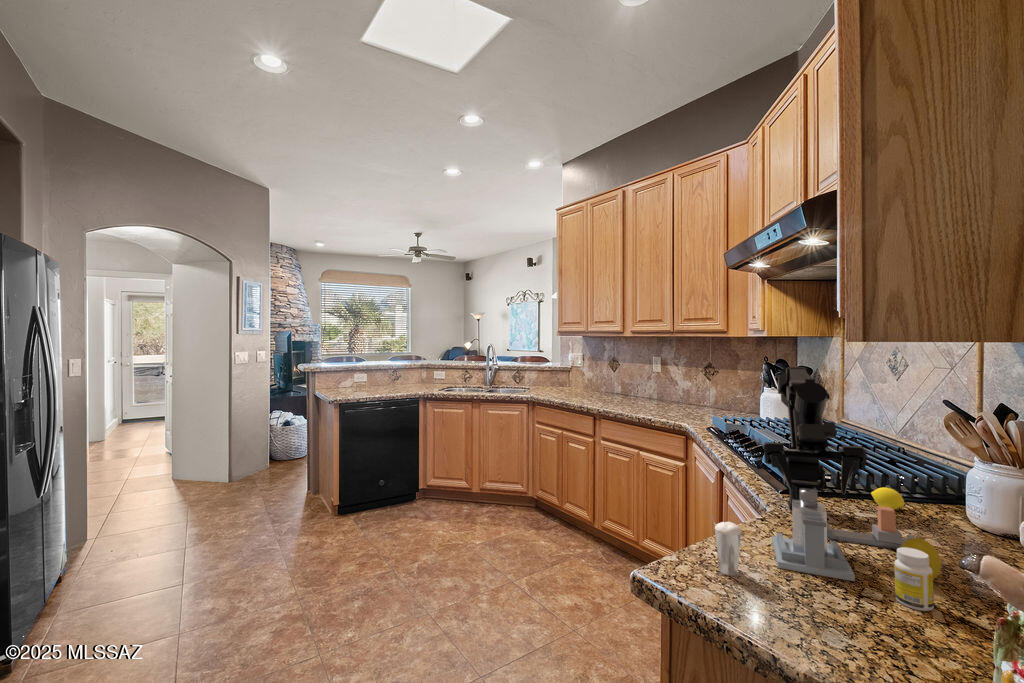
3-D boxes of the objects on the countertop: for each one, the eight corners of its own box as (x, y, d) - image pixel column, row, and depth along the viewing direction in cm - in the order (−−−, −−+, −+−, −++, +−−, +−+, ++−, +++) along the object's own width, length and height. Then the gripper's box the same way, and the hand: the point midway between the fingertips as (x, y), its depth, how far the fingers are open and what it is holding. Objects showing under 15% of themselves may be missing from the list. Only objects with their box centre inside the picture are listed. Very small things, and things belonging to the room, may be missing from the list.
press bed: (772, 541, 98) (771, 495, 98) (838, 551, 93) (838, 503, 93) (778, 568, 86) (777, 516, 86) (855, 582, 81) (854, 526, 81)
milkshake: (716, 562, 89) (715, 511, 89) (745, 571, 85) (744, 518, 85) (707, 570, 86) (706, 517, 86) (736, 580, 82) (735, 525, 82)
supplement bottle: (918, 596, 76) (917, 546, 77) (942, 612, 72) (940, 559, 72) (887, 595, 77) (886, 545, 77) (909, 611, 72) (908, 558, 72)
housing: (792, 545, 94) (791, 484, 94) (825, 551, 91) (823, 488, 91) (793, 555, 89) (792, 492, 89) (827, 562, 86) (826, 496, 86)
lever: (872, 533, 99) (871, 504, 99) (895, 536, 98) (894, 506, 98) (878, 540, 95) (877, 510, 95) (902, 544, 94) (901, 513, 94)
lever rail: (823, 532, 103) (823, 523, 103) (913, 544, 96) (913, 535, 96) (826, 538, 99) (826, 529, 99) (920, 552, 92) (920, 542, 92)
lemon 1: (906, 511, 117) (909, 491, 116) (898, 516, 114) (901, 495, 113) (874, 500, 122) (877, 481, 122) (865, 504, 120) (868, 484, 119)
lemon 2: (893, 578, 82) (892, 534, 83) (910, 572, 85) (909, 529, 85) (931, 593, 77) (930, 546, 77) (948, 586, 80) (947, 540, 80)
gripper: (761, 407, 104) (764, 469, 95) (862, 408, 95) (876, 477, 85) (763, 433, 111) (766, 493, 102) (858, 436, 102) (871, 503, 92)
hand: (816, 491), depth 95 cm, fingers open, 9 cm apart
